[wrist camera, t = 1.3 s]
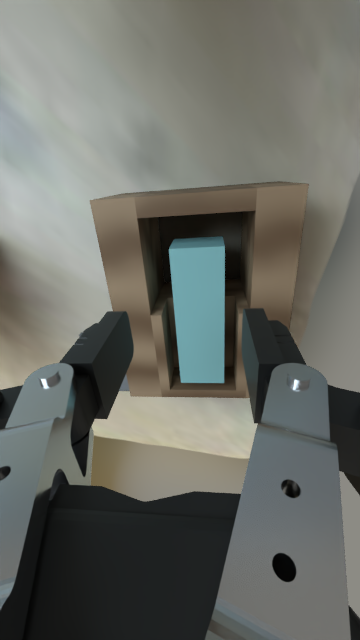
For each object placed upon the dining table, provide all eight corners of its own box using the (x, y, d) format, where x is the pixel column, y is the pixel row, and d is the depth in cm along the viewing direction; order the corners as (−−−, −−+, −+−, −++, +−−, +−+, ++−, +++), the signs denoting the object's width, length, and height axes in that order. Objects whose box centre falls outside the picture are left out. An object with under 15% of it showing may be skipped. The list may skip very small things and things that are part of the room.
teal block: (174, 238, 25) (168, 249, 22) (222, 236, 25) (224, 246, 21) (184, 359, 32) (180, 382, 28) (222, 359, 31) (224, 383, 28)
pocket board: (122, 193, 29) (89, 200, 21) (279, 181, 27) (308, 184, 19) (147, 350, 38) (130, 396, 30) (264, 349, 36) (279, 398, 28)
